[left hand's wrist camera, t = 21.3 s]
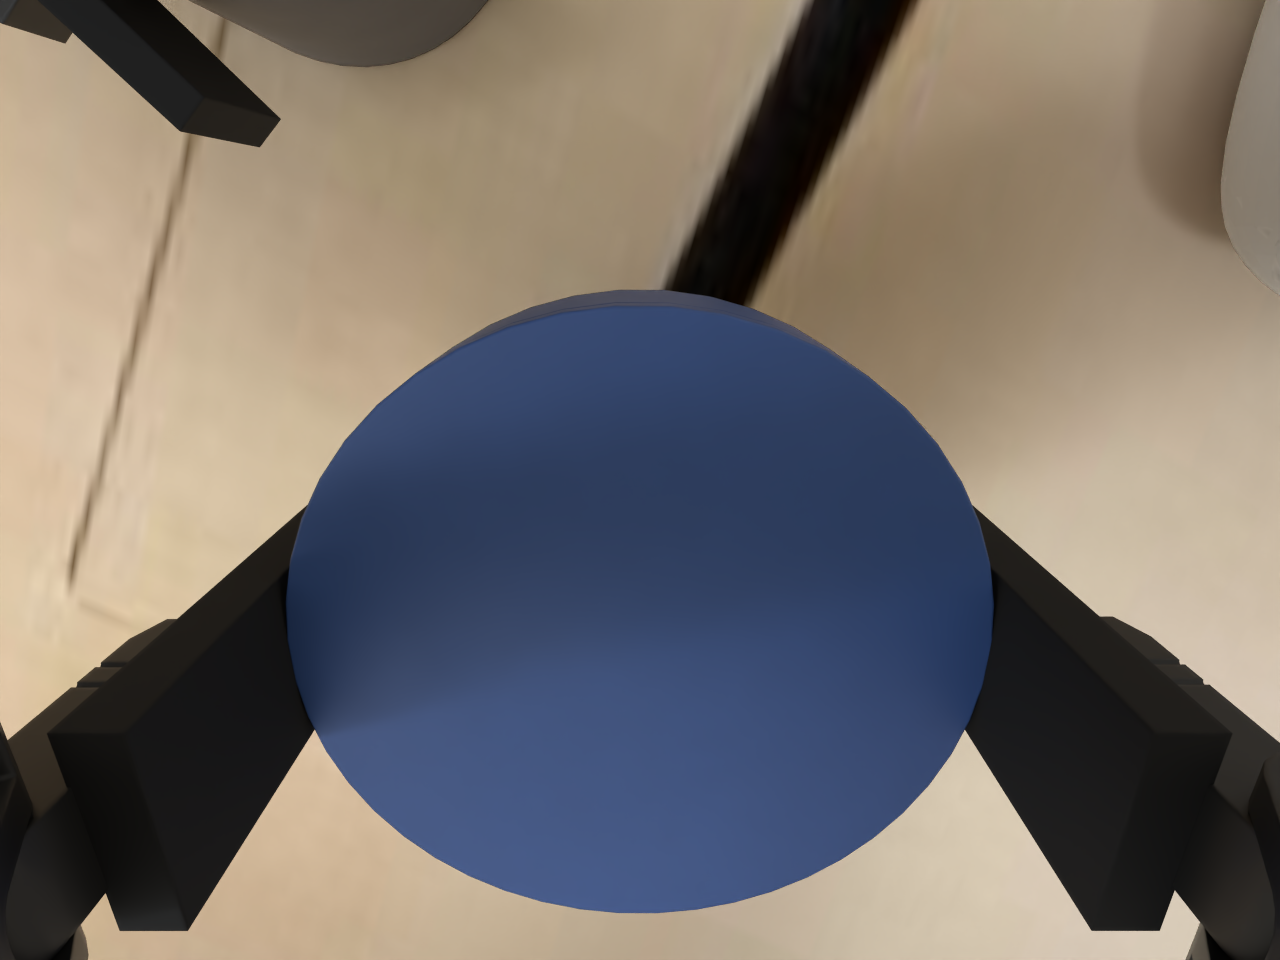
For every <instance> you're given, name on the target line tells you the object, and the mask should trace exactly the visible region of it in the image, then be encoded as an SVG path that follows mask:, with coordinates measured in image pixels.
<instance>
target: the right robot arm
mask: <svg viewBox="0 0 1280 960" xmlns="http://www.w3.org/2000/svg"><path fill="white" fill-rule="evenodd" d="M0 23H2V24H5V25H8V26H11V27H14V28H18V29H21V30H24V31H27V32H30V33H34V34H37V35H40V36H43V37H46V38H49V39H53V40H56V41H59V42H62V43H66V42H67V40H68V39H69V37H70V35H71V34H72V32H73V33H74V34H75V35H76V36H77V37H78V38H79V39H80V40H81V41H82V42H83V43H85V44H86V45H87V46H88V47H89V48H90V49H91V50H92V51H93V52H94V53H95V54H97V55H98V56H99V57H100V58H101V59H102V60H103V61H104V62H105V63H106V64H107V65H108V66H110V67H111V68H112V69H113V70H114V71H115V72H116V73H117V74H118V75H119V76H120V77H122V78H123V79H124V80H125V81H126V82H127V83H128V84H129V85H130V86H131V87H132V88H133V89H135V90H136V91H137V92H138V93H139V94H140V95H141V96H142V97H143V98H144V99H145V100H147V101H148V102H149V103H150V104H151V105H152V106H153V107H154V108H155V109H156V110H157V111H158V112H160V113H161V114H162V115H163V116H164V117H165V118H166V119H167V120H168V121H169V122H170V123H172V124H173V125H174V126H175V127H176V128H177V129H178V130H179V131H181V132H186V133H191V134H196V135H201V136H206V137H211V138H216V139H221V140H226V141H231V142H236V143H241V144H246V145H251V146H256V147H260V146H261V145H262V143H263V142H264V141H265V140H266V138H267V137H268V136H269V134H270V133H271V132H272V130H273V129H274V128H275V126H276V125H277V124H278V122H279V121H280V120H281V119H280V118H279V117H278V116H277V115H276V114H275V113H274V112H273V111H272V110H271V109H270V108H269V107H268V106H267V105H266V104H265V103H264V102H263V101H261V100H260V99H259V98H258V97H257V96H256V95H255V94H254V93H253V92H252V91H251V90H250V89H249V88H248V87H247V86H246V85H245V84H244V83H243V82H242V81H241V80H240V79H239V78H238V77H237V76H236V75H235V74H233V73H232V72H231V71H230V70H229V69H228V68H227V67H226V66H225V65H224V64H223V63H222V62H221V61H220V60H219V59H218V58H217V57H216V56H215V55H214V54H213V53H212V52H211V51H210V50H209V49H208V48H207V47H205V46H204V45H203V44H202V43H201V42H200V41H199V40H198V39H197V38H196V37H195V36H194V35H193V34H192V33H191V32H190V31H189V30H188V29H187V28H186V27H185V26H184V25H183V24H182V23H181V22H180V21H178V20H177V19H176V18H175V17H174V16H173V15H172V14H171V13H170V12H169V11H168V10H167V9H166V8H165V7H164V6H163V5H162V4H161V3H160V2H159V1H158V0H0Z"/></svg>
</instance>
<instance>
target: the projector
mask: <svg viewBox="0 0 1280 960" xmlns="http://www.w3.org/2000/svg"><path fill="white" fill-rule="evenodd" d="M1221 207H1222V213H1223V219H1224V225H1225V228H1226V231H1227V233H1228V236H1229V238H1230V241H1231V243H1232V246H1233V248H1234V250H1235V251H1236V252H1237V254H1238V255H1239V257H1240V258H1241V260H1242V261H1243V263H1244V264H1245V265H1246V267H1247V268H1248V269H1249V270H1250V271H1251V272H1252V273H1253V274H1254V275H1255V276H1256V277H1257V278H1258V279H1259V280H1260V281H1261V282H1262V283H1263V284H1264V285H1266V286H1267V287H1268V288H1269V289H1271V290H1272V291H1274V292H1275V293H1277V294H1278V295H1280V0H1265V3H1264V6H1263V9H1262V12H1261V15H1260V18H1259V21H1258V24H1257V27H1256V30H1255V33H1254V36H1253V40H1252V43H1251V47H1250V50H1249V53H1248V57H1247V60H1246V64H1245V67H1244V71H1243V74H1242V77H1241V81H1240V84H1239V88H1238V91H1237V95H1236V99H1235V104H1234V108H1233V113H1232V117H1231V122H1230V126H1229V131H1228V135H1227V139H1226V145H1225V153H1224V161H1223V169H1222V177H1221Z"/></svg>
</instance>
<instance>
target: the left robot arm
mask: <svg viewBox="0 0 1280 960" xmlns="http://www.w3.org/2000/svg"><path fill="white" fill-rule="evenodd" d="M307 506H308V505H307ZM307 506H306V507H305V508H303V509H302V510H301V511H300V512H299V513H298V514H297V515H295V516H294V517H293V518H292V519H291V520H290V521H289V522H287V523H286V524H285V525H284V526H283V527H282V528H281V529H279V530H278V531H277V532H276V533H275V534H274V535H273V536H271V537H270V538H269V539H268V540H267V541H266V542H265V543H263V544H262V545H261V546H260V547H259V548H258V549H257V550H255V551H254V552H253V553H252V554H251V555H250V556H249V557H247V558H246V559H245V560H244V561H243V562H242V563H241V564H239V565H238V566H237V567H236V568H235V569H234V570H233V571H231V572H230V573H229V574H228V575H227V576H226V577H225V578H224V579H222V580H221V581H220V582H219V583H218V584H217V585H216V586H214V587H213V588H212V589H211V590H210V591H209V592H208V593H206V594H205V595H204V596H203V597H202V598H201V599H200V600H198V601H197V602H196V603H195V604H194V605H193V606H192V607H190V608H189V609H188V610H187V611H186V612H185V613H184V614H182V615H181V616H180V617H179V618H178V619H167V620H165V621H163V622H161V623H159V624H157V625H155V626H153V627H151V628H149V629H148V630H146V631H144V632H142V633H140V634H138V635H136V636H134V637H132V638H130V639H129V640H128V641H126V642H125V643H124V644H123V645H122V646H120V647H119V648H118V649H117V650H116V651H114V652H113V653H112V654H111V655H110V656H108V657H107V658H106V659H105V660H104V661H102V662H101V667H95V668H94V669H93V670H92V671H90V672H89V673H88V674H87V675H86V676H84V677H83V678H82V679H81V680H80V681H78V682H77V687H76V688H70V689H69V690H68V691H66V692H65V693H64V694H63V695H62V696H60V697H59V698H58V699H57V700H56V701H54V702H53V703H52V704H51V705H50V706H48V707H47V708H46V709H45V710H44V711H42V712H41V713H40V714H39V715H38V716H36V717H35V718H34V719H33V720H31V721H30V722H29V723H28V724H27V725H25V726H24V727H23V728H22V729H21V730H19V731H18V732H17V733H16V734H15V735H13V736H12V737H11V738H10V739H9V740H7V738H6V736H5V733H4V731H3V728H2V725H1V723H0V960H88V949H87V942H86V937H85V935H84V932H83V930H82V927H81V923H82V922H83V921H84V920H85V918H86V917H87V916H88V915H89V913H90V912H91V911H92V909H93V908H94V907H95V906H96V904H97V903H98V902H99V901H100V899H101V898H102V897H103V896H104V894H105V893H106V895H107V898H108V900H109V903H110V906H111V909H112V911H113V914H114V917H115V919H116V922H117V925H118V927H119V930H120V931H188V930H189V928H190V926H191V925H192V923H193V922H194V920H195V919H196V917H197V915H198V914H199V912H200V911H201V909H202V907H203V906H204V904H205V903H206V901H207V899H208V898H209V896H210V895H211V893H212V892H213V890H214V888H215V887H216V885H217V884H218V882H219V880H220V879H221V877H222V876H223V874H224V873H225V871H226V869H227V868H228V866H229V865H230V863H231V861H232V860H233V858H234V857H235V855H236V853H237V852H238V850H239V849H240V847H241V846H242V844H243V842H244V841H245V839H246V838H247V836H248V834H249V833H250V831H251V830H252V828H253V827H254V825H255V823H256V822H257V820H258V819H259V817H260V815H261V814H262V812H263V811H264V809H265V807H266V806H267V804H268V803H269V801H270V800H271V798H272V796H273V795H274V793H275V792H276V790H277V788H278V787H279V785H280V784H281V782H282V780H283V779H284V777H285V776H286V774H287V773H288V771H289V769H290V768H291V766H292V765H293V763H294V761H295V760H296V758H297V757H298V755H299V754H300V752H301V750H302V749H303V747H304V746H305V744H306V742H307V741H308V739H309V738H310V736H311V734H312V733H313V731H314V730H315V729H314V727H313V725H312V723H311V721H310V719H309V717H308V715H307V712H306V709H305V706H304V703H303V701H302V698H301V695H300V692H299V689H298V687H297V684H296V680H295V675H294V670H293V665H292V660H291V655H290V650H289V645H288V640H287V619H286V594H287V585H288V576H289V567H290V559H291V555H292V552H293V548H294V544H295V541H296V537H297V534H298V530H299V526H300V523H301V519H302V517H303V514H304V512H305V510H306V508H307ZM972 506H973V505H972ZM973 509H974V511H975V513H976V516H977V518H978V520H979V522H980V526H981V530H982V534H983V538H984V542H985V546H986V550H987V553H988V557H989V561H990V568H991V579H992V589H993V600H994V614H993V631H992V642H991V647H990V652H989V657H988V662H987V666H986V671H985V676H984V681H983V685H982V689H981V691H980V694H979V697H978V699H977V702H976V705H975V708H974V710H973V713H972V716H971V718H970V721H969V723H968V724H967V726H966V728H965V730H966V732H967V734H968V735H969V737H970V738H971V740H972V742H973V743H974V745H975V746H976V748H977V749H978V751H979V753H980V754H981V756H982V757H983V759H984V761H985V762H986V764H987V765H988V767H989V769H990V770H991V772H992V773H993V775H994V776H995V778H996V780H997V781H998V783H999V784H1000V786H1001V788H1002V789H1003V791H1004V792H1005V794H1006V796H1007V797H1008V799H1009V800H1010V802H1011V803H1012V805H1013V807H1014V808H1015V810H1016V811H1017V813H1018V815H1019V816H1020V818H1021V819H1022V821H1023V822H1024V824H1025V826H1026V827H1027V829H1028V830H1029V832H1030V834H1031V835H1032V837H1033V838H1034V840H1035V842H1036V843H1037V845H1038V846H1039V848H1040V849H1041V851H1042V853H1043V854H1044V856H1045V857H1046V859H1047V861H1048V862H1049V864H1050V865H1051V867H1052V869H1053V870H1054V872H1055V873H1056V875H1057V876H1058V878H1059V880H1060V881H1061V883H1062V884H1063V886H1064V888H1065V889H1066V891H1067V892H1068V894H1069V895H1070V897H1071V899H1072V900H1073V902H1074V903H1075V905H1076V907H1077V908H1078V910H1079V911H1080V913H1081V915H1082V916H1083V918H1084V919H1085V921H1086V922H1087V924H1088V926H1089V927H1090V929H1091V930H1092V931H1160V928H1161V926H1162V923H1163V920H1164V918H1165V915H1166V912H1167V910H1168V907H1169V904H1170V901H1171V899H1172V896H1173V893H1174V891H1176V892H1177V893H1178V895H1179V896H1180V897H1181V898H1182V900H1183V901H1184V902H1185V903H1186V905H1187V906H1188V907H1189V909H1190V910H1191V911H1192V912H1193V914H1194V915H1195V916H1196V917H1197V919H1198V920H1199V921H1200V925H1199V927H1198V930H1197V932H1196V935H1195V937H1194V940H1193V942H1192V945H1191V948H1190V950H1189V953H1188V955H1187V958H1186V960H1280V743H1279V742H1278V741H1277V740H1276V739H1274V738H1273V737H1272V736H1271V735H1269V734H1268V733H1267V732H1266V731H1265V730H1263V729H1262V728H1261V727H1260V726H1259V725H1257V724H1256V723H1255V722H1254V721H1253V720H1251V719H1250V718H1249V717H1248V716H1246V715H1245V714H1244V713H1243V712H1242V711H1240V710H1239V709H1238V708H1237V707H1236V706H1234V705H1233V704H1232V703H1231V702H1230V701H1228V700H1227V699H1226V698H1225V697H1224V696H1222V695H1221V694H1220V693H1219V692H1217V691H1216V690H1215V689H1214V688H1213V687H1211V686H1210V685H1204V683H1203V679H1202V678H1201V677H1199V676H1198V675H1197V674H1196V673H1194V672H1193V671H1192V670H1191V669H1190V668H1188V667H1187V666H1186V665H1180V663H1179V659H1178V658H1176V657H1175V656H1174V655H1173V654H1172V653H1170V652H1169V651H1168V650H1167V649H1165V648H1164V647H1163V646H1162V645H1161V644H1159V643H1158V642H1157V641H1156V640H1155V639H1153V638H1152V637H1151V636H1149V635H1147V634H1145V633H1143V632H1141V631H1139V630H1137V629H1136V628H1134V627H1132V626H1130V625H1128V624H1126V623H1124V622H1122V621H1120V620H1118V619H1116V618H1114V617H1099V616H1098V615H1097V614H1096V613H1095V612H1094V611H1093V610H1091V609H1090V608H1089V607H1088V606H1087V605H1086V604H1085V603H1083V602H1082V601H1081V600H1080V599H1079V598H1078V597H1077V596H1075V595H1074V594H1073V593H1072V592H1071V591H1070V590H1069V589H1067V588H1066V587H1065V586H1064V585H1063V584H1062V583H1061V582H1059V581H1058V580H1057V579H1056V578H1055V577H1054V576H1053V575H1051V574H1050V573H1049V572H1048V571H1047V570H1046V569H1045V568H1043V567H1042V566H1041V565H1040V564H1039V563H1038V562H1037V561H1035V560H1034V559H1033V558H1032V557H1031V556H1030V555H1029V554H1027V553H1026V552H1025V551H1024V550H1023V549H1022V548H1021V547H1019V546H1018V545H1017V544H1016V543H1015V542H1014V541H1013V540H1011V539H1010V538H1009V537H1008V536H1007V535H1006V534H1005V533H1003V532H1002V531H1001V530H1000V529H999V528H998V527H997V526H995V525H994V524H993V523H992V522H991V521H990V520H989V519H987V518H986V517H985V516H984V515H983V514H982V513H981V512H980V511H978V510H977V509H976V508H975V507H974V506H973Z"/></svg>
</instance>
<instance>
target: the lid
mask: <svg viewBox="0 0 1280 960" xmlns="http://www.w3.org/2000/svg"><path fill="white" fill-rule="evenodd" d="M993 614H994V600H993V589H992V579H991V568H990V561H989V557H988V553H987V550H986V546H985V542H984V538H983V534H982V530H981V526H980V522H979V520H978V518H977V516H976V513H975V511H974V509H973V506H972V504H971V502H970V499H969V497H968V495H967V493H966V490H965V488H964V486H963V483H962V481H961V480H960V478H959V477H958V475H957V474H956V472H955V470H954V469H953V467H952V466H951V464H950V463H949V461H948V459H947V458H946V456H945V455H944V453H943V452H942V450H941V448H940V447H939V445H938V444H937V443H936V442H935V440H934V439H933V438H932V437H931V436H930V435H929V434H928V432H927V431H926V430H925V429H924V428H923V427H922V426H921V424H920V423H919V422H918V421H917V420H916V419H915V418H914V416H913V415H912V414H911V413H910V412H909V411H908V410H907V409H906V408H905V407H904V406H903V405H902V404H901V403H899V402H898V401H897V400H896V399H895V398H893V397H892V396H891V395H890V394H889V393H888V392H886V391H885V390H884V389H883V388H882V387H880V386H879V385H878V384H877V383H876V382H875V381H873V380H872V379H871V378H870V377H869V376H867V375H866V374H864V373H863V372H861V371H860V370H859V369H857V368H856V367H854V366H853V365H852V364H850V363H849V362H847V361H846V360H844V359H843V358H842V357H840V356H839V355H837V354H836V353H834V352H833V351H832V350H830V349H829V348H827V347H825V346H824V345H822V344H821V343H819V342H817V341H816V340H814V339H812V338H811V337H809V336H808V335H806V334H804V333H803V332H801V331H800V330H798V329H796V328H795V327H793V326H791V325H788V324H786V323H784V322H782V321H779V320H777V319H775V318H773V317H770V316H768V315H766V314H764V313H761V312H759V311H757V310H755V309H752V308H748V307H745V306H741V305H738V304H734V303H731V302H727V301H724V300H720V299H717V298H713V297H709V296H702V295H695V294H688V293H681V292H674V291H667V290H615V291H607V292H599V293H591V294H584V295H576V296H571V297H568V298H564V299H560V300H556V301H553V302H549V303H545V304H542V305H538V306H534V307H531V308H528V309H526V310H524V311H521V312H519V313H517V314H514V315H512V316H509V317H507V318H505V319H502V320H500V321H498V322H495V323H493V324H491V325H489V326H487V327H485V328H484V329H482V330H480V331H479V332H477V333H475V334H474V335H472V336H470V337H469V338H467V339H466V340H464V341H462V342H461V343H459V344H457V345H456V346H454V347H452V348H451V349H450V350H448V351H447V352H445V353H444V354H442V355H441V356H440V357H438V358H437V359H435V360H434V361H432V362H431V363H430V364H428V365H427V366H425V367H424V368H423V369H421V370H420V371H418V372H417V373H415V374H414V375H413V376H412V377H411V378H409V379H408V380H407V381H406V382H404V383H403V384H402V385H401V386H400V387H398V388H397V389H396V390H395V391H393V392H392V393H391V394H390V395H389V396H387V397H386V398H385V399H384V400H382V401H381V402H380V403H379V404H378V405H377V406H376V407H375V408H374V409H373V410H372V411H371V412H370V413H369V414H368V415H367V417H366V418H365V419H364V420H363V421H362V422H361V423H360V424H359V425H358V426H357V428H356V429H355V430H354V431H353V432H352V433H351V434H350V435H349V436H348V438H347V439H346V440H345V441H344V443H343V444H342V446H341V447H340V449H339V450H338V452H337V453H336V455H335V456H334V458H333V459H332V461H331V462H330V464H329V465H328V467H327V468H326V470H325V471H324V473H323V474H322V476H321V477H320V479H319V481H318V484H317V486H316V488H315V490H314V492H313V495H312V497H311V499H310V501H309V503H308V506H307V508H306V510H305V512H304V514H303V517H302V519H301V523H300V526H299V530H298V534H297V537H296V541H295V544H294V548H293V552H292V555H291V559H290V567H289V576H288V585H287V594H286V619H287V640H288V645H289V650H290V655H291V660H292V665H293V670H294V675H295V680H296V684H297V687H298V689H299V692H300V695H301V698H302V701H303V703H304V706H305V709H306V712H307V715H308V717H309V719H310V721H311V723H312V725H313V727H314V729H315V731H316V733H317V734H318V736H319V738H320V740H321V742H322V744H323V746H324V748H325V750H326V751H327V753H328V754H329V756H330V757H331V759H332V760H333V761H334V763H335V764H336V766H337V767H338V769H339V770H340V771H341V773H342V774H343V776H344V777H345V778H346V780H347V781H348V783H349V784H350V785H351V786H352V787H353V788H354V789H355V790H356V791H357V792H358V794H359V795H360V796H361V797H362V798H363V799H364V800H365V801H366V802H367V803H368V805H369V806H370V807H371V808H372V809H373V810H374V811H375V812H376V813H377V814H379V815H380V816H381V817H382V818H383V819H384V820H385V821H387V822H388V823H389V824H390V825H391V826H392V827H394V828H395V829H396V830H397V831H398V832H399V833H400V834H402V835H403V836H404V837H406V838H407V839H409V840H410V841H411V842H413V843H414V844H416V845H417V846H419V847H420V848H422V849H423V850H425V851H426V852H428V853H429V854H430V855H432V856H433V857H435V858H437V859H439V860H440V861H442V862H444V863H446V864H448V865H450V866H452V867H453V868H455V869H457V870H459V871H461V872H463V873H465V874H466V875H468V876H471V877H473V878H475V879H478V880H480V881H483V882H485V883H488V884H490V885H492V886H495V887H497V888H500V889H502V890H505V891H508V892H511V893H515V894H518V895H521V896H525V897H528V898H531V899H535V900H538V901H541V902H546V903H551V904H556V905H562V906H567V907H572V908H577V909H584V910H594V911H604V912H614V913H664V912H675V911H686V910H697V909H702V908H707V907H713V906H718V905H723V904H729V903H734V902H737V901H741V900H744V899H748V898H751V897H755V896H758V895H762V894H765V893H769V892H772V891H774V890H777V889H779V888H782V887H784V886H787V885H789V884H792V883H794V882H797V881H799V880H802V879H804V878H807V877H809V876H811V875H813V874H815V873H816V872H818V871H820V870H822V869H824V868H826V867H828V866H830V865H832V864H834V863H836V862H837V861H839V860H841V859H843V858H844V857H846V856H847V855H849V854H850V853H852V852H853V851H855V850H856V849H858V848H859V847H861V846H862V845H864V844H865V843H867V842H868V841H870V840H871V839H873V838H874V837H875V836H876V835H878V834H879V833H880V832H881V831H882V830H883V829H885V828H886V827H887V826H888V825H889V824H891V823H892V822H893V821H894V820H895V819H896V818H898V817H899V816H900V815H901V814H902V813H903V812H904V811H905V810H906V809H907V808H908V807H909V806H910V805H911V804H912V803H913V802H914V801H915V800H916V798H917V797H918V796H919V795H920V794H921V793H922V792H923V791H924V790H925V789H926V788H927V787H928V786H929V784H930V783H931V782H932V780H933V779H934V777H935V776H936V775H937V773H938V772H939V771H940V769H941V768H942V766H943V765H944V764H945V762H946V761H947V760H948V758H949V757H950V755H951V754H952V752H953V750H954V748H955V747H956V745H957V743H958V741H959V739H960V737H961V736H962V734H963V732H964V730H965V728H966V726H967V724H968V723H969V721H970V718H971V716H972V713H973V710H974V708H975V705H976V702H977V699H978V697H979V694H980V691H981V689H982V685H983V681H984V676H985V671H986V666H987V662H988V657H989V652H990V647H991V642H992V631H993Z"/></svg>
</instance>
